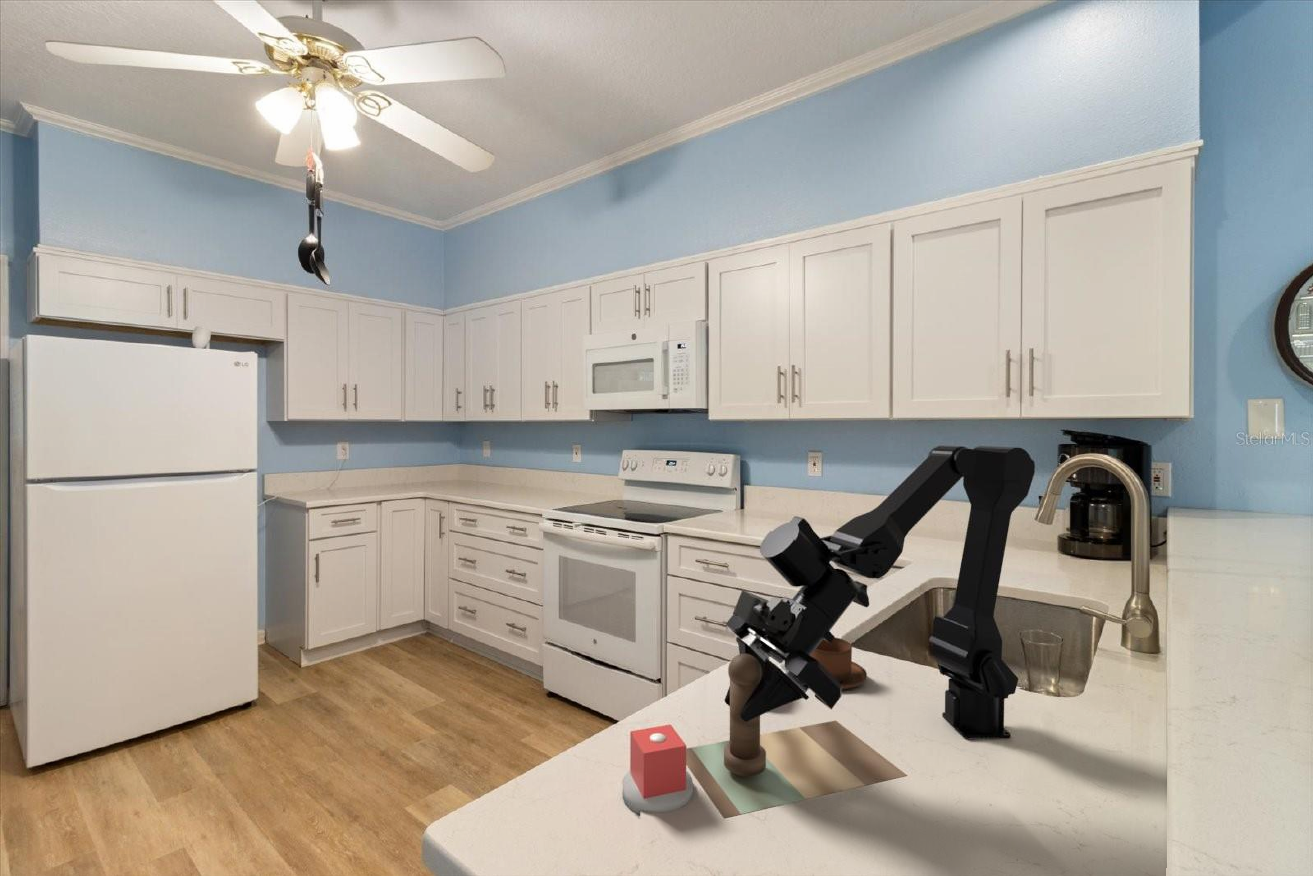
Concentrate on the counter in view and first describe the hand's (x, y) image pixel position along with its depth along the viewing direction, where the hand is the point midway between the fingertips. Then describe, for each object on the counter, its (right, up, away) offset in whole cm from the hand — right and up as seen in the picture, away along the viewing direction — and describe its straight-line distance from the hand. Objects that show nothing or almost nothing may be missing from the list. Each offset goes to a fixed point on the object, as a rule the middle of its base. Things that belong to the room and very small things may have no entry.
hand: (734, 711), depth 72 cm
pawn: (+1, -7, +1) cm, 7 cm away
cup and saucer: (+19, -8, +28) cm, 35 cm away
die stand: (-9, -8, -3) cm, 13 cm away
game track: (+7, -8, +3) cm, 11 cm away
